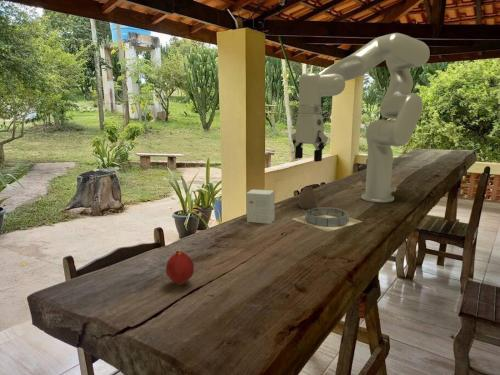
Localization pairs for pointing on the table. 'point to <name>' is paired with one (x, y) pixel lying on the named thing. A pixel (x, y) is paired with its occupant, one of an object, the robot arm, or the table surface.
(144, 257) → the table surface
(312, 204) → the vase
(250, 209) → the small box
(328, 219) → the ring collar
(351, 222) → the birch board
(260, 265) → the table surface
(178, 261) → the onion
